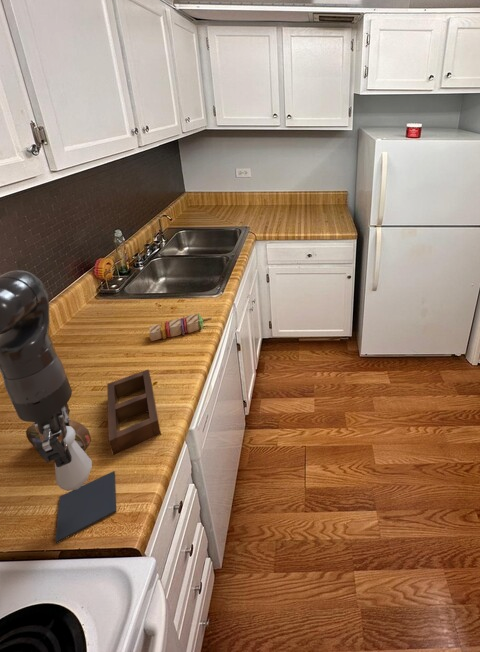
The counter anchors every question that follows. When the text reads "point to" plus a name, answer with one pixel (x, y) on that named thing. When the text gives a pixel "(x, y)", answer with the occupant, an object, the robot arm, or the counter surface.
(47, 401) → the robot arm
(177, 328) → the skewer
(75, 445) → the salt shaker
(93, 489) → the mat
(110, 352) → the counter surface
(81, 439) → the tin
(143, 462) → the counter surface
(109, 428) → the rack
